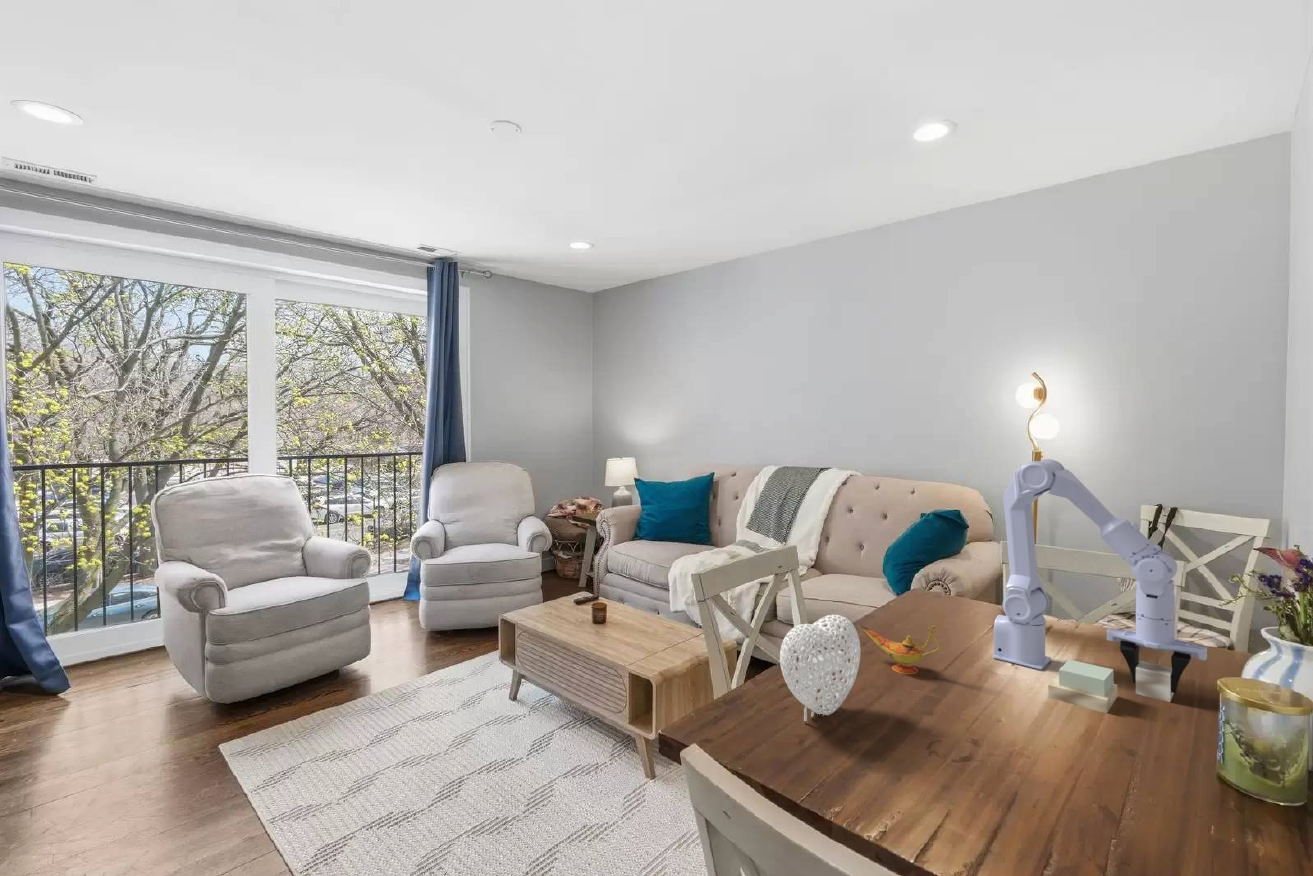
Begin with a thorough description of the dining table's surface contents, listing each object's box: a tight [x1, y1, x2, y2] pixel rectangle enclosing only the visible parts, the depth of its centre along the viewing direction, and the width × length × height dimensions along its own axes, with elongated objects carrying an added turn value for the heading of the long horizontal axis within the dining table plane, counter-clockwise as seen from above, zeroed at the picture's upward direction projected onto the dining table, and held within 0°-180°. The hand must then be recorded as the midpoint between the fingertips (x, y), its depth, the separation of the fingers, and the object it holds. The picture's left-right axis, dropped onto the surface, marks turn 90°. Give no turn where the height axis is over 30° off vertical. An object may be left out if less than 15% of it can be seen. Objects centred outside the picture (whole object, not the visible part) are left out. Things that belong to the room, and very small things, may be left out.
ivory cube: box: [1135, 660, 1175, 703], centre depth 114 cm, size 5×5×5 cm
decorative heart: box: [779, 614, 861, 722], centre depth 108 cm, size 18×11×17 cm, turn 128°
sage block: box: [1058, 659, 1115, 697], centre depth 113 cm, size 7×7×3 cm
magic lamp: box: [858, 625, 941, 675], centre depth 128 cm, size 7×18×11 cm, turn 41°
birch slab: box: [1047, 673, 1118, 714], centre depth 113 cm, size 9×9×3 cm
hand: (1154, 686), depth 114 cm, fingers closed on ivory cube, 5 cm apart
